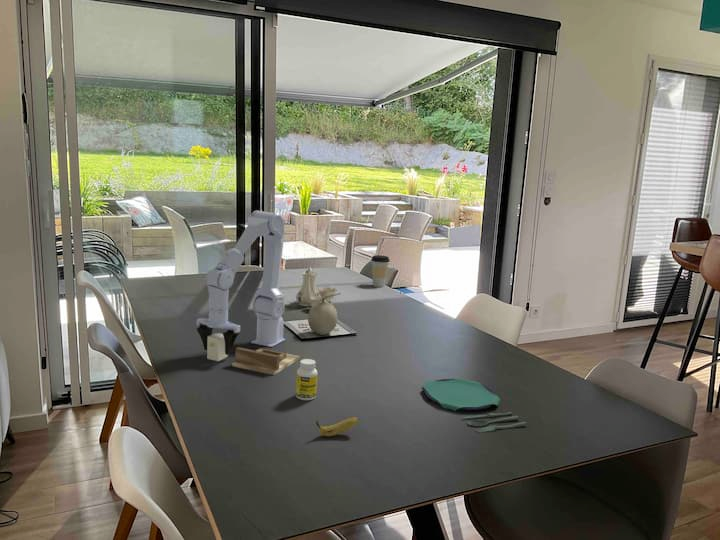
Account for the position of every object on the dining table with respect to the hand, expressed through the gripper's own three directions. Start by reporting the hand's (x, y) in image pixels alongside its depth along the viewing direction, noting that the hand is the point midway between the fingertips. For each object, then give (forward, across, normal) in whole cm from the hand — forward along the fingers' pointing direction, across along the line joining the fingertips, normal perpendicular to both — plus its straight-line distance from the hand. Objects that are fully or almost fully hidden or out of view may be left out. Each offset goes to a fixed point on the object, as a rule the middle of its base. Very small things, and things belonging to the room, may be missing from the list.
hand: (217, 351), depth 180 cm
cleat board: (+2, +15, +4) cm, 16 cm away
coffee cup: (+2, +4, +131) cm, 131 cm away
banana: (+2, +53, -29) cm, 60 cm away
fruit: (+2, +16, +40) cm, 43 cm away
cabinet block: (+2, 0, 0) cm, 2 cm away
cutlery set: (+3, +77, +4) cm, 77 cm away
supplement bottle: (+2, +37, -13) cm, 39 cm away
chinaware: (+2, -5, +77) cm, 77 cm away
